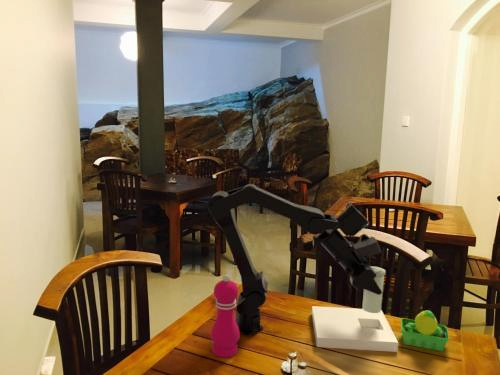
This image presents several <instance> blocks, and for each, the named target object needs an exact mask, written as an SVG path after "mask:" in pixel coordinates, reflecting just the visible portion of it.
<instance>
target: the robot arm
mask: <svg viewBox="0 0 500 375" xmlns="http://www.w3.org/2000/svg"><path fill="white" fill-rule="evenodd" d="M249 202H252V203H253V204H255V205H257V206H260V207H261V208H262V207H263V208H264V209H267V210H269V211H271V212H273V213H276V214H278V215H281V216H282V217H285V218H287V219H289V220H291V221H292V222H293V223H295V224H296V225H297V226H298V227H299V228H301V229H303V230H304V231H306V232H307V233H309V234H310V235H312V247H313V248H314V249H316V248H317V247H319V245H321V246H322V247H323V248H325V250H326V251H327V252H328V253H329V254H330V255H331V256H332V257H333V259H334V261H335V263H336V264H339V265H340V266H341V267H342V268H343V270H344V272H345V273H346V274H347V275H349V274H350V275H349V281H350V284H351V286H352V287H353V288H354V289H355V290H356V291H357V292H358V291H360V290H362V289H363V290H364V289H365V290H368V291H370V292H373V293H375V294H378V295H380V294H381V293H382V291H381V289H380V288H379V286H378V285H377V283H376V282H375V280H374V278H375V277H376V273H375V272H374V270H373V268H371V267H370V266H371V265H369V264H368V263H369V260H368V259H367V258H368V257H371V256H373V255H378V254H380V253H381V252H382V250H381V247H380V244H379V243H378V240H377V239H376V237H374V236H372V235H370V236H368V234H366V233H363V234H361V235H359V240H358V241H357V243H353V242H352V241H349V240H348V239H347V238H346V237H355V236H356V235H357V234H358V233H360V232H361V231H362V230H364V229H365V228H366V227H367V226H369V224H370V222H369V220H368V219H367V218H366V217H365V216H364V215H363V214H362V213H361V211H360V210H358V209H357V208H356V207H355V206H354V205H353V204H351V203H350V204H348V205H346V207H345V208H344V210H343V211H342V212H340V213H339V214H338V215H337V216H336V215H335V214H330V213H324V212H323V211H322V210H320V208H316V207H312V206H307V205H301V204H300V205H299V204H297V203H294V202H291V201H289V200H287V199H285V198H282V197H280V196H278V195H276V194H274V193H271V192H269V191H267V190H265V189H263V188H260V187H258V186H256V185H255V184H253V183H247V184H246V185H244V186H243V187H238V188H234V189H232V190H229V191H224V190H220V191H217V192H215V193H214V194H212V196H211V197H210V199H209V200H208V202H207V210H208V212H209V213H210V215H211V217H212V218H213V220H214V221H215V223H216V224H217V226H219V227H220V228H221V230H222V233H223V236H224V237H225V241H226V242H227V245H228V248H229V249H230V252H231V255H232V257H233V260H234V263H235V265H236V268H237V270H238V273H239V275H240V279H241V280H240V281H241V286H242V287H241V288H242V289H241V290H242V291H240V292H238V296H237V300H236V306H235V308H236V310H235V316H236V317H235V320H236V323H237V325H238V327H239V332H240V334H243V335H244V336H250V335H252V334H254V333H257V332H260V331H262V330H264V326H263V325H261V315H260V314H261V312H260V311H261V309H260V308H259V307H261V306H263V305H264V304H265V302H266V299H267V294H268V286H269V282H268V281H267V280H266V278H265V274H264V271H263V270H261V271H260V272H258V270H257V269H256V268H255V266H254V265H253V264H254V263H253V262H252V258H251V257H250V254H249V251H248V249H247V246H246V244H245V241H244V240H243V237H242V234H241V231H240V228H239V226H238V224H237V223H238V222H237V221H236V212H235V209H236V208H237V207H240V206H242V205H244V204H247V203H249ZM338 229H339V230H340V231H341V232H342V233H343V234H342V233H341V232H340V231H339V230H338ZM344 235H345V236H344ZM382 294H383V293H382Z"/></svg>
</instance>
